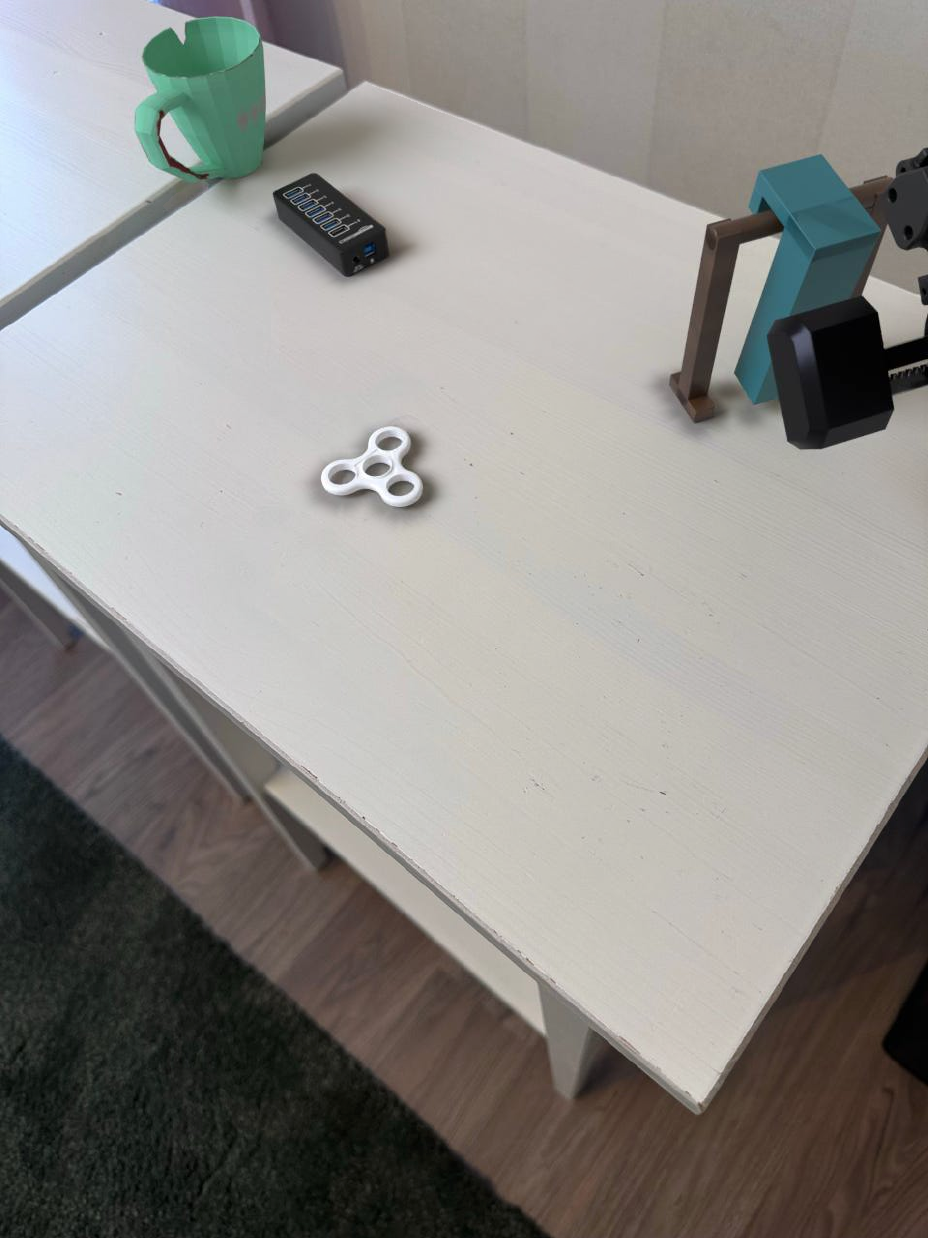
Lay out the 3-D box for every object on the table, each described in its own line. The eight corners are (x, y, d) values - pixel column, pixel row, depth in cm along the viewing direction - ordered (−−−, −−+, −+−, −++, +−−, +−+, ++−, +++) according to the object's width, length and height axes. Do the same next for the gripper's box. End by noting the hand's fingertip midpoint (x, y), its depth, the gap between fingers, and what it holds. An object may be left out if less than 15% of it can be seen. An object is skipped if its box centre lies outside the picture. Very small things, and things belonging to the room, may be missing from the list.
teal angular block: (807, 389, 61) (881, 230, 49) (753, 405, 60) (815, 249, 48) (761, 318, 63) (821, 152, 52) (709, 334, 63) (758, 169, 51)
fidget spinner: (392, 425, 63) (391, 417, 62) (455, 474, 60) (454, 466, 59) (314, 481, 60) (311, 473, 60) (375, 534, 58) (373, 526, 57)
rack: (846, 377, 62) (914, 196, 51) (693, 423, 61) (729, 248, 50) (816, 341, 65) (875, 159, 53) (668, 384, 63) (697, 208, 52)
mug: (218, 125, 85) (183, 9, 77) (308, 142, 83) (282, 23, 74) (131, 215, 79) (82, 99, 70) (226, 236, 76) (187, 118, 68)
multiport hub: (320, 195, 78) (314, 170, 76) (391, 254, 73) (387, 228, 71) (276, 216, 77) (270, 191, 75) (346, 278, 72) (341, 252, 70)
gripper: (1280, 36, 35) (985, 163, 50) (848, 153, 33) (676, 248, 48) (1300, 326, 37) (1013, 363, 52) (899, 452, 35) (720, 453, 50)
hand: (860, 353), depth 51 cm, fingers open, 9 cm apart
